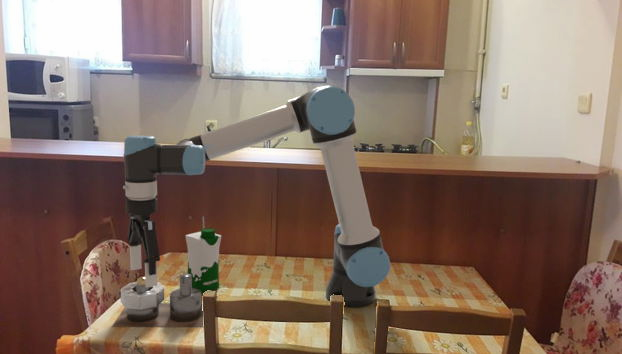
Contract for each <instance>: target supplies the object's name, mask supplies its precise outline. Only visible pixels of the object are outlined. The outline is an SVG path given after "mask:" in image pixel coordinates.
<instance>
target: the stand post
mask: <svg viewBox="0 0 622 354" xmlns="http://www.w3.org/2000/svg"><path fill="white" fill-rule="evenodd" d="M169 303H170V318H171V319H172V320H173V321H176V322H191V321H194V320H197V319H198V318H200V316H201V303H202V294H201V291H199V290H198V289H194V288H192V275H191V274H188V273H182V274H180V275H179V288H178V289H175V290H173V291H171V292H170V293H169Z"/></svg>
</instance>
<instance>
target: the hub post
mask: <svg viewBox="0 0 622 354" xmlns="http://www.w3.org/2000/svg"><path fill="white" fill-rule="evenodd" d="M136 282H137V283H136V286H137V292H146V291H149V287H147V288H146V287H145V276H141V277H138V278H137V280H136ZM158 315H159V305H158V306H156V307H152V308H147V309H142V310H137V309H129V308H127V319H128V320H130V321H132V322H147V321H150V320H153V319H155V318H157V317H158Z"/></svg>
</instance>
